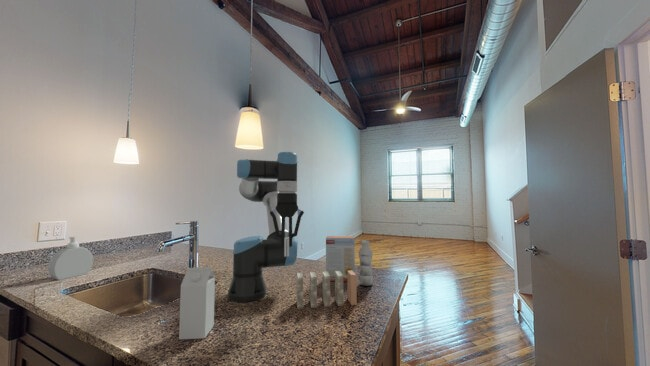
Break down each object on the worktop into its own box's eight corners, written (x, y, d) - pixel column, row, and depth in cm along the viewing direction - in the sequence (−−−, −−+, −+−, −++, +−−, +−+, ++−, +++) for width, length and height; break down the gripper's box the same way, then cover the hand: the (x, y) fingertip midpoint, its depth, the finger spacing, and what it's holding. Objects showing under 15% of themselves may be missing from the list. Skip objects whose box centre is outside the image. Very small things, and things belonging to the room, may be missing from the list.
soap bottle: (86, 271, 137) (88, 234, 138) (93, 272, 135) (94, 235, 136) (46, 280, 122) (49, 239, 123) (52, 281, 120) (55, 239, 121)
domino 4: (338, 306, 93) (338, 275, 93) (335, 299, 98) (335, 271, 99) (343, 305, 93) (343, 275, 93) (340, 299, 99) (340, 270, 99)
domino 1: (297, 308, 90) (297, 277, 91) (296, 301, 96) (297, 272, 97) (302, 308, 91) (303, 277, 91) (302, 301, 97) (302, 272, 97)
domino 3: (324, 306, 92) (324, 276, 92) (322, 300, 98) (322, 271, 98) (330, 306, 92) (330, 276, 93) (327, 300, 98) (327, 271, 99)
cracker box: (354, 278, 125) (354, 235, 126) (355, 282, 118) (354, 237, 120) (326, 277, 126) (326, 235, 127) (325, 281, 120) (325, 237, 121)
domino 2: (311, 307, 91) (311, 277, 92) (309, 301, 97) (309, 272, 98) (316, 307, 91) (316, 276, 92) (314, 300, 97) (314, 272, 98)
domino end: (351, 305, 93) (351, 275, 94) (347, 298, 99) (347, 270, 100) (356, 304, 94) (356, 274, 94) (352, 298, 99) (352, 270, 100)
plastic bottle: (374, 283, 116) (374, 240, 118) (371, 288, 110) (370, 242, 112) (361, 281, 119) (360, 239, 120) (357, 286, 113) (356, 241, 114)
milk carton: (190, 327, 78) (192, 264, 79) (213, 326, 78) (215, 264, 79) (178, 340, 70) (181, 271, 72) (204, 339, 71) (206, 270, 72)
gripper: (268, 192, 91) (267, 258, 89) (305, 192, 93) (305, 257, 91) (270, 192, 98) (269, 253, 97) (303, 192, 100) (303, 252, 99)
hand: (286, 255), depth 94 cm, fingers closed
